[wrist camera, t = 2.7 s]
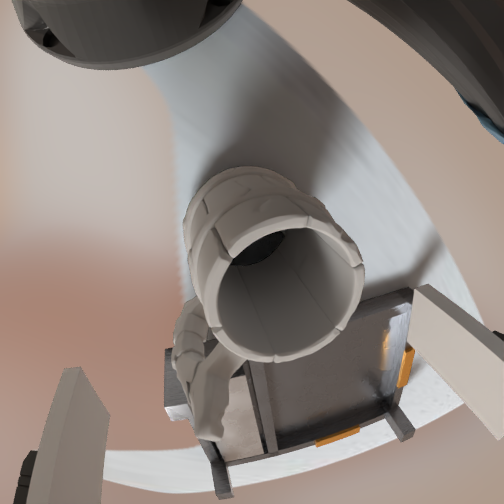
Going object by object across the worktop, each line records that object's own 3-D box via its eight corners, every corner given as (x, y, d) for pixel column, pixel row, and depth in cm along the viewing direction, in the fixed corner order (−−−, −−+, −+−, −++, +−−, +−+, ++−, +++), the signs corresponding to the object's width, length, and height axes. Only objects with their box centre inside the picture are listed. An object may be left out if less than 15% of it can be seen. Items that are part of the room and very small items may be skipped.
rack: (165, 349, 23) (164, 407, 17) (408, 286, 26) (451, 321, 20) (211, 454, 29) (219, 500, 24) (388, 402, 32) (412, 436, 26)
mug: (321, 206, 21) (442, 286, 10) (223, 336, 23) (256, 474, 12) (230, 138, 18) (296, 150, 7) (131, 289, 21) (100, 432, 10)
